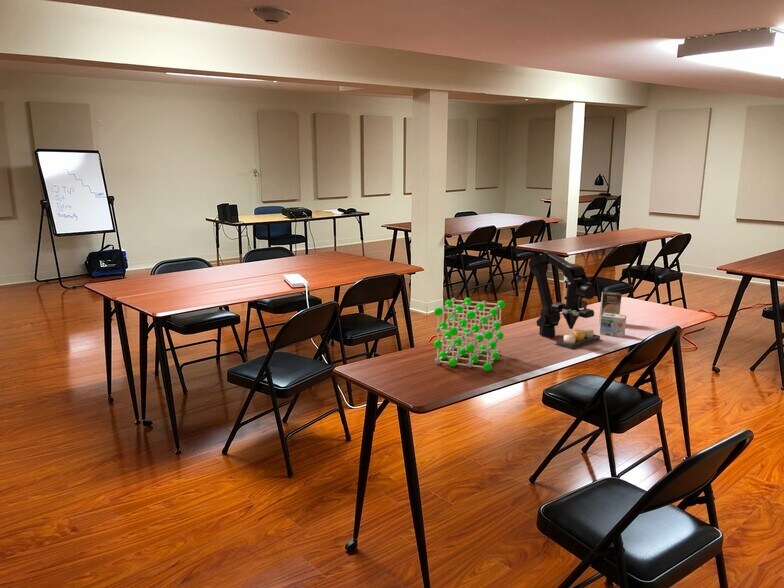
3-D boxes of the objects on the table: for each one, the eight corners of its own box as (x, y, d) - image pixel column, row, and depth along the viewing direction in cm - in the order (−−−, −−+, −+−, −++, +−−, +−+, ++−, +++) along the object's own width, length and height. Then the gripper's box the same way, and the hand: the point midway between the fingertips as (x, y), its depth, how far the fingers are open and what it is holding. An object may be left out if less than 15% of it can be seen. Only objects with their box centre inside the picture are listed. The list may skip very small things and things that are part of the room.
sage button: (579, 338, 276) (580, 330, 276) (585, 336, 280) (586, 328, 279) (589, 340, 273) (589, 332, 272) (595, 338, 276) (595, 330, 275)
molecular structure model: (503, 354, 260) (506, 299, 255) (490, 373, 238) (492, 313, 232) (449, 347, 269) (451, 295, 264) (432, 365, 247) (433, 308, 241)
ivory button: (561, 343, 268) (561, 336, 267) (567, 341, 271) (568, 334, 270) (570, 346, 264) (571, 338, 263) (577, 344, 267) (577, 336, 266)
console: (553, 347, 269) (553, 340, 268) (583, 338, 283) (583, 331, 282) (572, 353, 261) (573, 345, 261) (602, 343, 275) (602, 336, 275)
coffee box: (599, 324, 306) (602, 293, 302) (598, 321, 312) (601, 291, 308) (619, 325, 303) (621, 294, 300) (617, 322, 310) (620, 292, 306)
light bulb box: (598, 337, 284) (600, 315, 282) (601, 333, 290) (603, 312, 288) (622, 340, 279) (624, 318, 277) (624, 336, 285) (626, 314, 283)
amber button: (570, 338, 272) (571, 331, 271) (577, 336, 275) (577, 329, 274) (580, 341, 268) (580, 333, 267) (586, 339, 271) (587, 331, 270)
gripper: (602, 295, 261) (600, 330, 264) (566, 288, 275) (564, 321, 278) (587, 299, 254) (585, 334, 257) (551, 291, 268) (549, 325, 272)
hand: (571, 328), depth 266 cm, fingers closed
